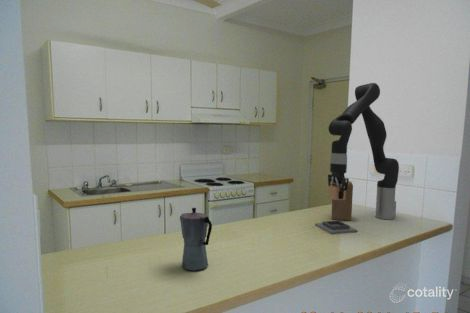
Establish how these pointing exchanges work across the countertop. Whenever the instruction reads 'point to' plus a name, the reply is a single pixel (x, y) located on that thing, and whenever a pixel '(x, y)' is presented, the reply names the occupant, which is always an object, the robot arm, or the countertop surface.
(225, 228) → the countertop surface
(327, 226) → the socket board
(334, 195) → the brick
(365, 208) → the countertop surface
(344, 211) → the wooden block
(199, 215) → the moka pot
